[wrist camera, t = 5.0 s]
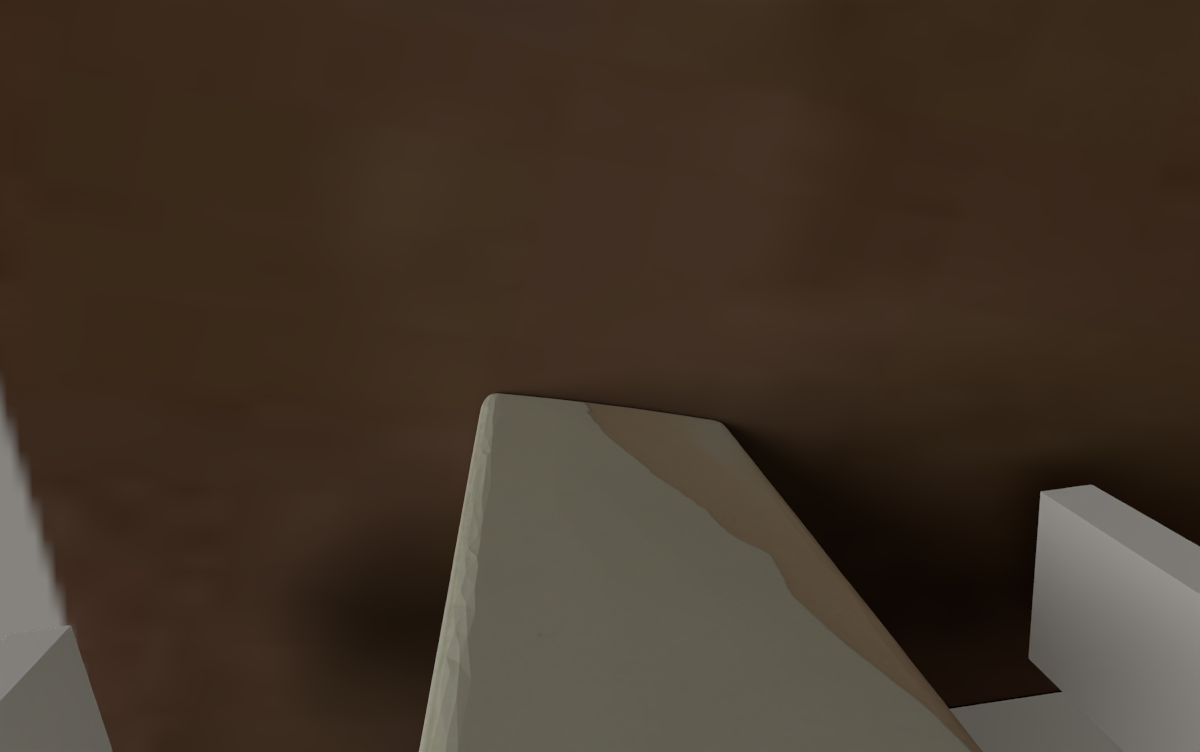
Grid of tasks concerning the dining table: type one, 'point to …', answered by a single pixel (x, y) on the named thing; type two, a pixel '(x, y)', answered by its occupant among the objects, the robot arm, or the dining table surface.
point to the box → (654, 603)
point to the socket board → (1033, 726)
